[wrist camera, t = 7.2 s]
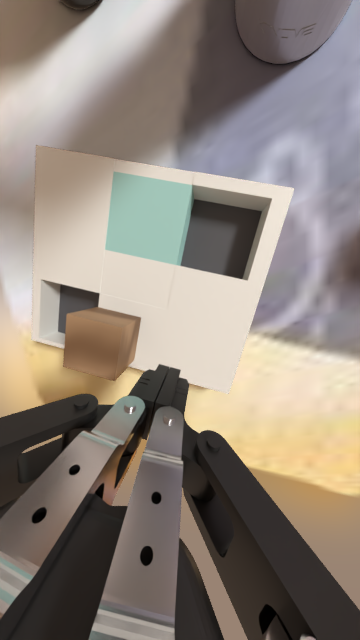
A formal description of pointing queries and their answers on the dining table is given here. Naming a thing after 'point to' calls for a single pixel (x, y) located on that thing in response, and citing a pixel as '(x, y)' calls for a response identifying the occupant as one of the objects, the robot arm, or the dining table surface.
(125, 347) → the walnut block
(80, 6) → the supplement bottle
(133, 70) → the dining table surface
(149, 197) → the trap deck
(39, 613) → the robot arm
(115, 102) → the dining table surface
